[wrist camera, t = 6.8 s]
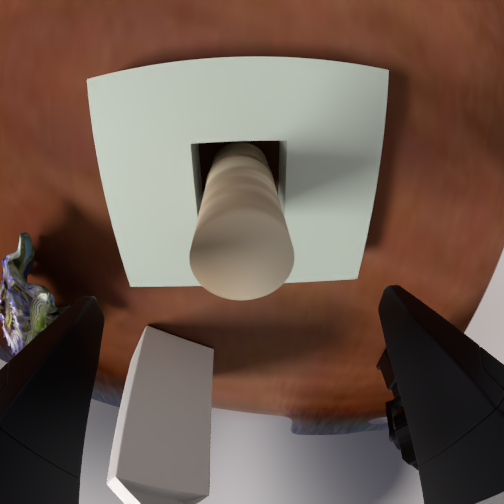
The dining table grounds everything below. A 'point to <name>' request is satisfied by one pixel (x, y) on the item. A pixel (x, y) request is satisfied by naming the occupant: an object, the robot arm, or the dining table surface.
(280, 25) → the dining table surface
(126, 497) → the milk carton
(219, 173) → the peg
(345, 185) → the board
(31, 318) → the passion flower
